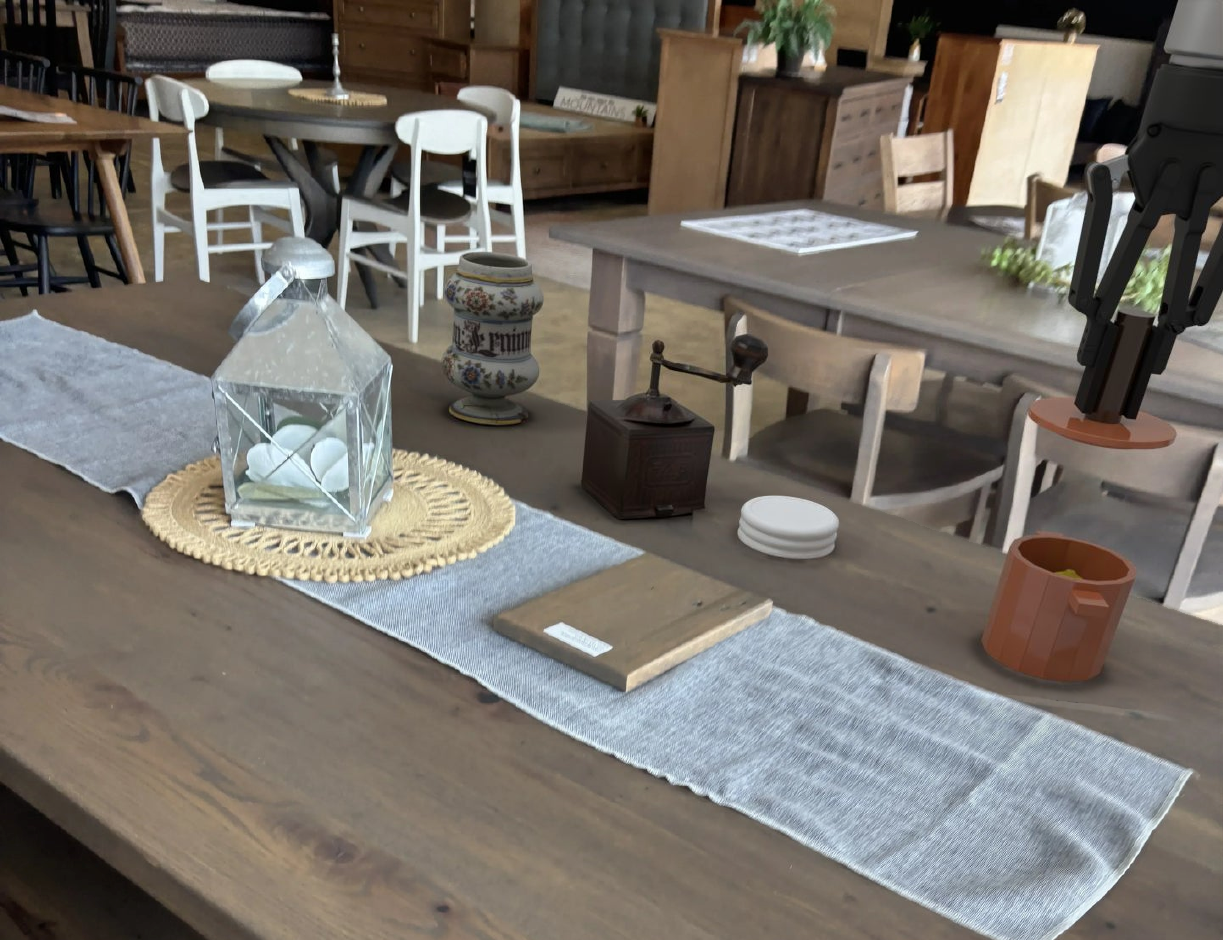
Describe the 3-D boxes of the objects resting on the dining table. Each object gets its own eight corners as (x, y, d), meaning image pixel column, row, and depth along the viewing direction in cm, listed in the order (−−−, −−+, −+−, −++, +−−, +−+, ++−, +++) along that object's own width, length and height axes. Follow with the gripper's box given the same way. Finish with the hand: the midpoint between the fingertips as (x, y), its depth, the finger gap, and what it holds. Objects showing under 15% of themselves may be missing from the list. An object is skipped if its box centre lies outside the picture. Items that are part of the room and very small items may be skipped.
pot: (1076, 627, 113) (1109, 531, 108) (1122, 708, 100) (1162, 604, 95) (966, 613, 113) (994, 517, 108) (998, 693, 100) (1031, 588, 95)
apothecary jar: (520, 435, 144) (529, 274, 134) (426, 418, 146) (427, 259, 136) (548, 409, 154) (557, 257, 144) (459, 394, 156) (462, 243, 145)
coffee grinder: (620, 523, 124) (639, 341, 113) (578, 485, 132) (592, 313, 121) (749, 513, 130) (778, 339, 120) (701, 477, 138) (724, 312, 128)
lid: (1148, 421, 101) (1188, 305, 96) (1190, 464, 91) (1237, 339, 86) (1013, 405, 101) (1045, 289, 96) (1041, 446, 92) (1079, 320, 86)
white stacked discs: (851, 549, 124) (858, 516, 122) (797, 572, 117) (803, 538, 115) (773, 518, 129) (779, 487, 127) (717, 539, 123) (722, 506, 120)
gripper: (1311, 76, 85) (1189, 410, 98) (1088, 50, 85) (996, 387, 98) (1356, 82, 79) (1219, 437, 92) (1116, 54, 79) (1014, 413, 92)
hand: (1104, 411), depth 95 cm, fingers closed on lid, 3 cm apart
